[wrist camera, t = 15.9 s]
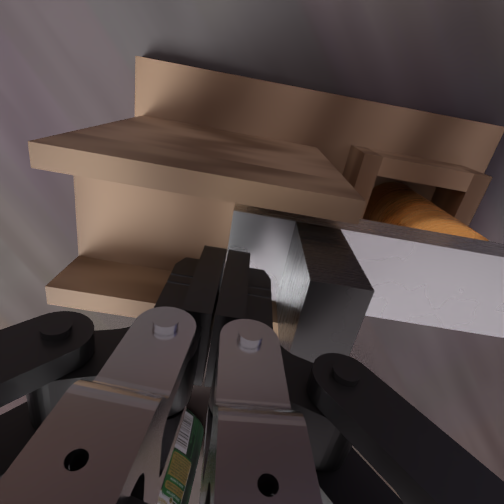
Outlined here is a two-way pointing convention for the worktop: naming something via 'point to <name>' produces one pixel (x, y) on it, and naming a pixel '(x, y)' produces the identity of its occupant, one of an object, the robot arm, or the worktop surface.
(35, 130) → the worktop surface
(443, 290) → the grey angular block
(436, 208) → the peg
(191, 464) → the coffee jar
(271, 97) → the mount
